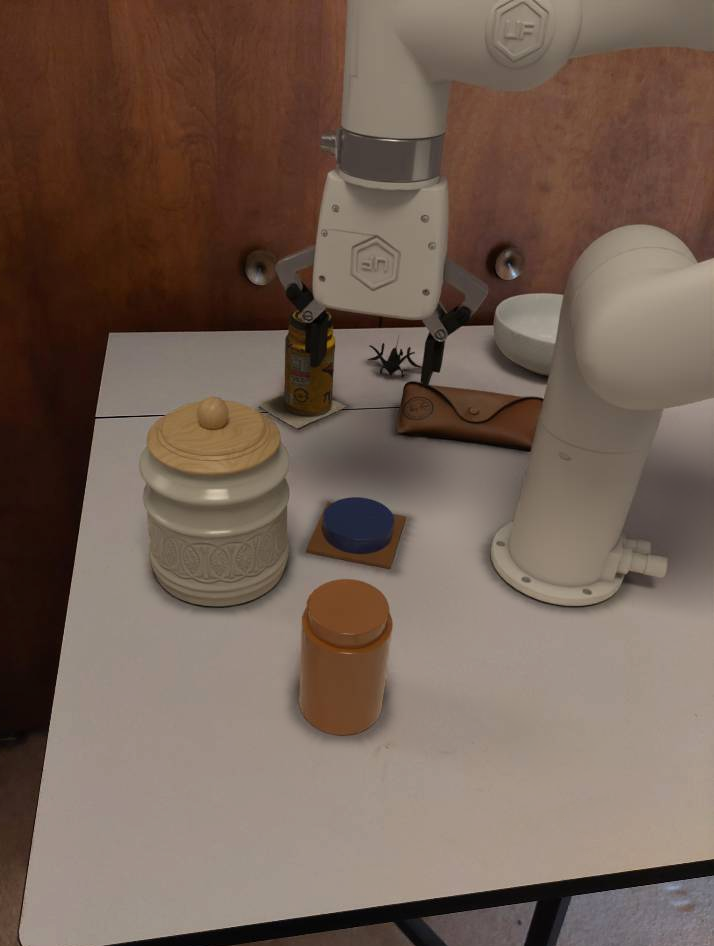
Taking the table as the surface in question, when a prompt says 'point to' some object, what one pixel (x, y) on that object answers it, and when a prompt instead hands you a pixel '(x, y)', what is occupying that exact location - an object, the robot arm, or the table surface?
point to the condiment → (305, 379)
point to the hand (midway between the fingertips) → (371, 369)
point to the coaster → (375, 559)
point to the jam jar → (344, 656)
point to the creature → (393, 360)
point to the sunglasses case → (469, 415)
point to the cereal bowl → (528, 329)
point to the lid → (358, 525)
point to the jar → (216, 502)
